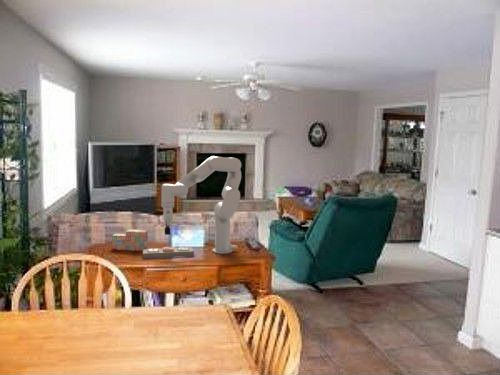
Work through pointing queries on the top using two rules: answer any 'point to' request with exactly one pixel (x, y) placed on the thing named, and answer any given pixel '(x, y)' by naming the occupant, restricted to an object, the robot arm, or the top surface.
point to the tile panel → (167, 253)
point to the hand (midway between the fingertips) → (167, 234)
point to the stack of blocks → (130, 240)
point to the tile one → (152, 250)
